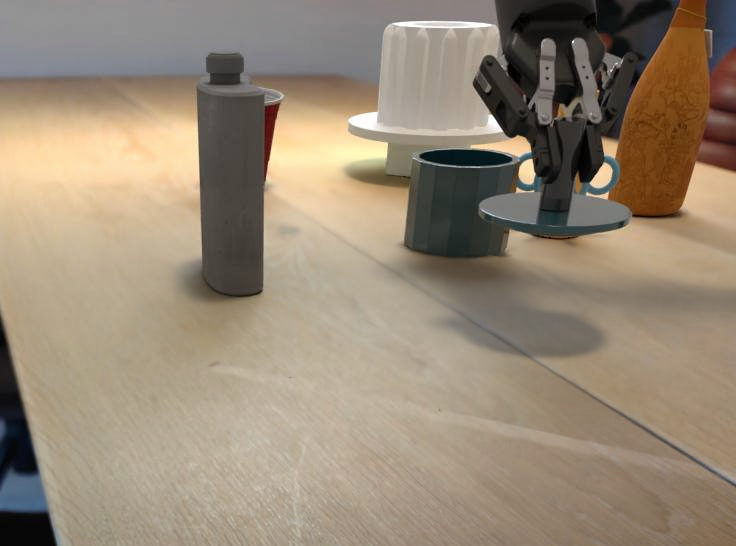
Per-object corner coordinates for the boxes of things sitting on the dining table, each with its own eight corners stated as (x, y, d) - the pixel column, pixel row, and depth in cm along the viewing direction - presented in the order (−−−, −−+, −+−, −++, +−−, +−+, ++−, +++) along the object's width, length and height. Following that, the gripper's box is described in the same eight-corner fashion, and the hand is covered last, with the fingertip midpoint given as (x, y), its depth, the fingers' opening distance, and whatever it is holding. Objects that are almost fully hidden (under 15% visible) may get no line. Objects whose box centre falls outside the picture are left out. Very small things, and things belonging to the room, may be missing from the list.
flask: (198, 256, 102) (190, 45, 90) (249, 255, 103) (248, 44, 90) (208, 297, 90) (201, 60, 78) (266, 295, 91) (268, 60, 79)
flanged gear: (478, 196, 126) (500, 33, 115) (318, 178, 136) (323, 26, 125) (530, 166, 144) (554, 22, 132) (384, 152, 153) (395, 16, 142)
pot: (518, 243, 107) (533, 153, 101) (486, 268, 99) (500, 171, 93) (425, 231, 111) (434, 144, 105) (387, 253, 103) (395, 160, 97)
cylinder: (544, 217, 117) (569, 81, 108) (618, 232, 111) (651, 90, 102) (488, 233, 110) (509, 90, 101) (563, 250, 104) (592, 99, 95)
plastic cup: (225, 197, 126) (223, 97, 119) (197, 182, 134) (193, 88, 126) (295, 190, 129) (297, 93, 122) (264, 176, 137) (264, 84, 130)
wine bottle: (682, 221, 115) (762, -80, 97) (601, 214, 118) (665, -80, 100) (682, 204, 123) (757, -78, 104) (606, 198, 125) (667, -78, 107)
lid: (642, 216, 78) (666, 114, 74) (609, 250, 70) (634, 137, 65) (502, 200, 83) (517, 104, 79) (455, 230, 75) (468, 124, 70)
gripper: (474, -57, 70) (505, 148, 68) (644, -58, 72) (679, 143, 70) (445, 21, 78) (472, 209, 75) (599, 19, 79) (630, 202, 77)
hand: (571, 176), depth 72 cm, fingers closed on lid, 2 cm apart
